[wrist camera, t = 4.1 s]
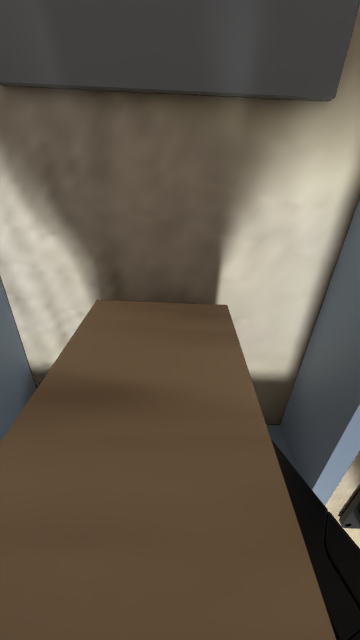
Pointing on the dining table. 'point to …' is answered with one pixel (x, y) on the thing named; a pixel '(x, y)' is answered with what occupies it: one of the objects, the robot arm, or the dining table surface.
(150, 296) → the dining table surface
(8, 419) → the open-front box
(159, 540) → the walnut block
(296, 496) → the robot arm
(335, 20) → the charcoal mat
